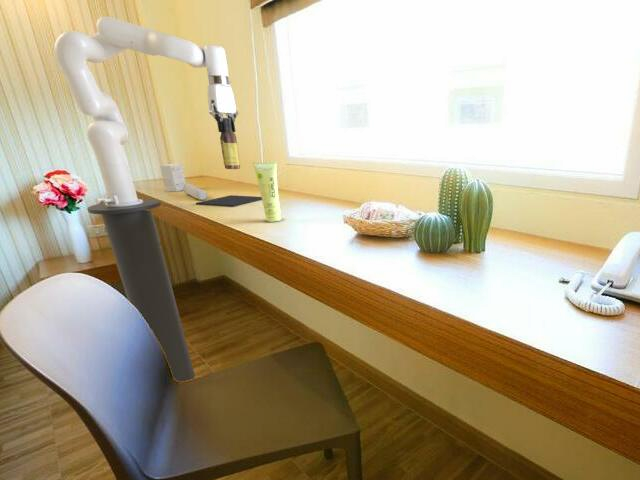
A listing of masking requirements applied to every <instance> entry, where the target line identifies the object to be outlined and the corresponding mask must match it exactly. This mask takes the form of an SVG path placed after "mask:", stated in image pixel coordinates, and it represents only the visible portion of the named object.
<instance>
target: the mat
mask: <svg viewBox="0 0 640 480" xmlns="http://www.w3.org/2000/svg"><path fill="white" fill-rule="evenodd" d="M258 201H262V197H261V196H254V195H253V196H251V195H232V194H231V195H230V194H229V195H226V196H222V197H217V198H213V199H207V200H201V201H199V202H195V205H199V206H215V207H229V208H233V207H237V206H241V205H246V204H249V203H253V202H258Z"/></svg>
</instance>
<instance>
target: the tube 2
mask: <svg viewBox="0 0 640 480" xmlns="http://www.w3.org/2000/svg"><path fill="white" fill-rule="evenodd" d="M252 166H253V168H254V171H255V175H256V180H257V184H258V187H259V191H260V197H262V200H261V201H262V206H263V210H264V216H265V221H266V222H268V223H274V222H280V221H281V220H282V216H281V214H282V213H281V206H280V198H279V197H280V196H279V188H278V176H277V175H278V174H277V161H273V160H272V161H253V162H252Z"/></svg>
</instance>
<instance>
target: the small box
mask: <svg viewBox="0 0 640 480" xmlns="http://www.w3.org/2000/svg"><path fill="white" fill-rule="evenodd" d="M159 168H160V172H161V176H162V180H163V184H164V188H165V191H166V192H172V193H173V192H176V193H177V192H181V191H184V190H183V187H184V185H185V184H187V182H186V177H185V173H184V167H183V164H182V163H169V164H161V165H159Z"/></svg>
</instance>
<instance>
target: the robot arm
mask: <svg viewBox="0 0 640 480" xmlns="http://www.w3.org/2000/svg"><path fill="white" fill-rule="evenodd" d="M96 30H97V32H95V33H93V34H91V35H88V33H87V34H86V33H84V32H82V31H79V30H67V31H66V30H65V31H64V32H62V33H61V34H60V35H58V37H57V38H56V39H55V43H54V46H53V47H54V48H53V51H54V57H55V60H56V62H57V65H58V67H59V69H60V71H61V73H62V75H63V78H64V80H65V82H66V84H67V87H68V89H69V91H70V93H71V95H72V97H73V99H74V102H75V104H76V106H77V108H78V109H79V111H80V112H81V113H83V114H84V115H86V116H89V117H93V120H94V121H92V122H90V123H89V124H88V126H87V128H86V136H87V139H88V142H89V144H90V145H91V148H92V150H93V151H92V152H93V153H94V156H95V159H96V162H97V165H98V168H99V172H100V175H101V178H102V182H103V185H104V188H105V191H106V194H104V196H103V197H99V198H95V200H94V201H95V204H96V205H97V204H101V203H105V205H106V207H126V206H133V205H138V204H142V203H143V200H141V199H142V198H138V195H137V191H136V187H135V184H134V179H133V176H132V173H131V169H130V164H129V162H128V158H127V155H126V153H125V150H124V148H123V145H125V144H126V143H127V142H128V140H129V131H128V128H127V126H126V124H125V120H124V119H123V117H122V115H121V112H120V110H119V107H118V105H117V103H116V101H115V99H113V97H112V96H111V95H109V94H108V93H107V92H105V91H101V90H100V88H99V85H98V84H97V81H96V79H95V76H94V74H93V73H92V71H91V68H89V66H88V64H87V62H90V63H93V64H101V63H104V62H106V61H108V60H110V59H112V58H115V57H116V56H118V55H120V54H121V53H123V52H124V51H126V50H132V51H134V52H138V53H141V54H145V55H148V56H153V57H154V56H160V57H164V58H165V57H166V58H168V59H171V60H175V61H179V62H182V63H185V64H187V65H189V66H191V67H192V68H197V69H200V68H206V73H207V79H208V85H207V102H208V114H210V115H211V116H212V117H213V119H214V120H215V122H216V123H217V130H218V133H221V132H226V128H225V122H224V121H223V118H224V115H225V117H226V118H231V126H232V131H233V132H234V133H236V126H235V125H236V124H235V122H236V119H237V116H238V115H239V112H238V110H237V105H236V100H235V95H234V91H233V88H232V86H231V80H230V75H229V68H228V61H227V55H226V50H225V47H223V46H221V45H217V44H206V45H204V46H199V45H197V44H196V43H195V42H193V41H190V40H188V39H185V38H181V37H179V36H176V35H172V34H169V33H165V32H162V31H158V30H156V29H152V28H147V27H146V26H143V25H138V24H135V23H133V22H129V21H126V20H122V19H119V18H116V17H113V16H108V15H107V16H101V17H100V18H98V19H97V21H96Z"/></svg>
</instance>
